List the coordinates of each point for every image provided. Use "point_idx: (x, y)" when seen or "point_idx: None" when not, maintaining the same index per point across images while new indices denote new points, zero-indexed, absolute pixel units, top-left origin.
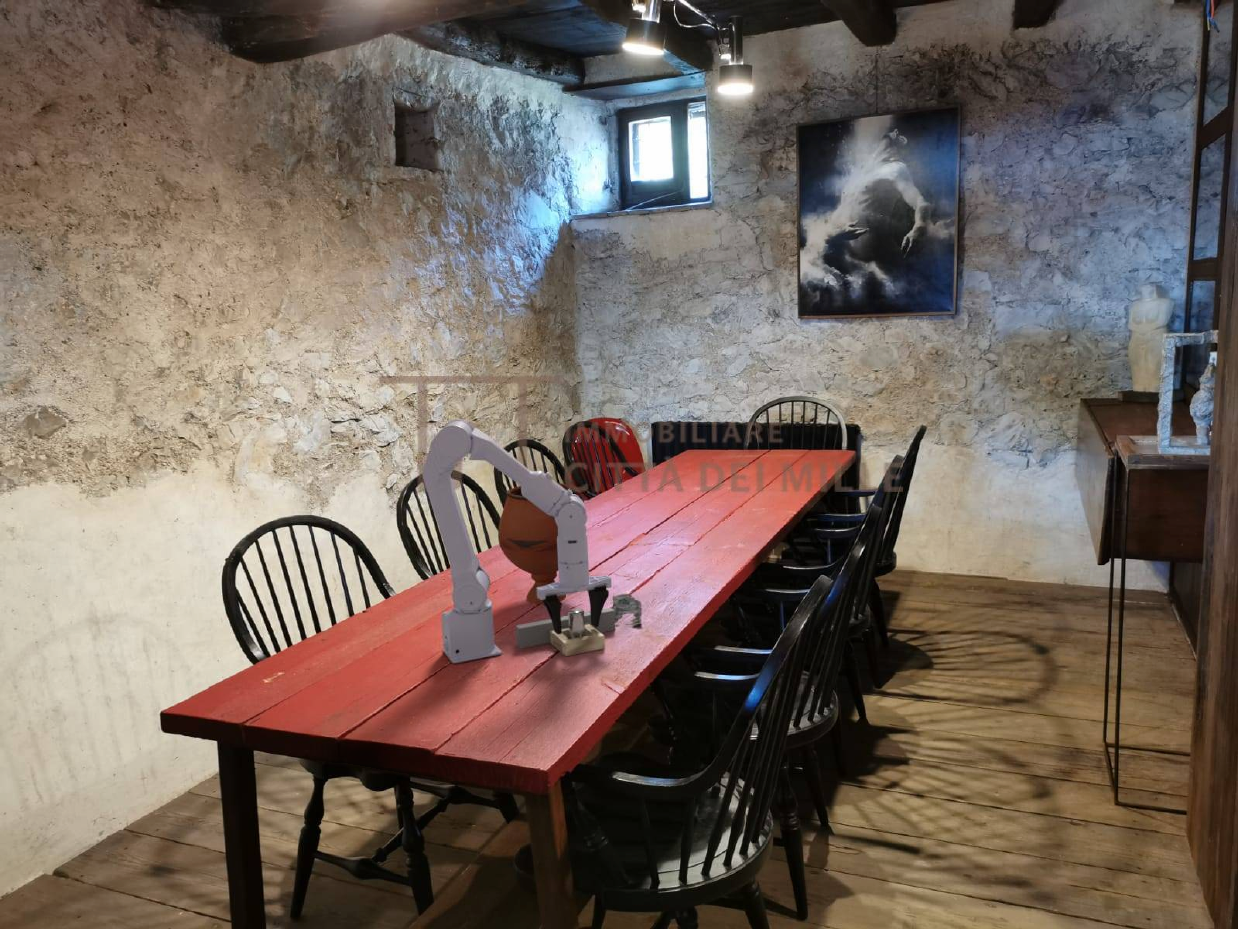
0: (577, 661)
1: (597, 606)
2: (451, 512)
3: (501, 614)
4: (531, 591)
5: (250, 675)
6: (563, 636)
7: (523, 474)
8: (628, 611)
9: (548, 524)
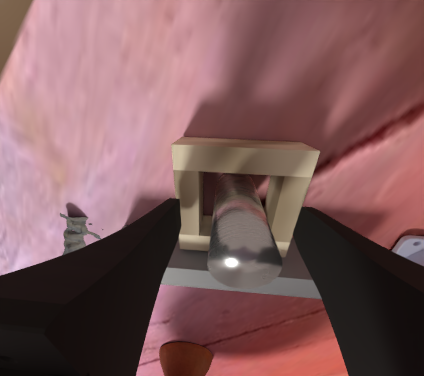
0: (294, 87)
1: (137, 243)
2: None
3: (266, 346)
4: (205, 373)
5: None
6: (283, 207)
7: None
8: None
9: None
